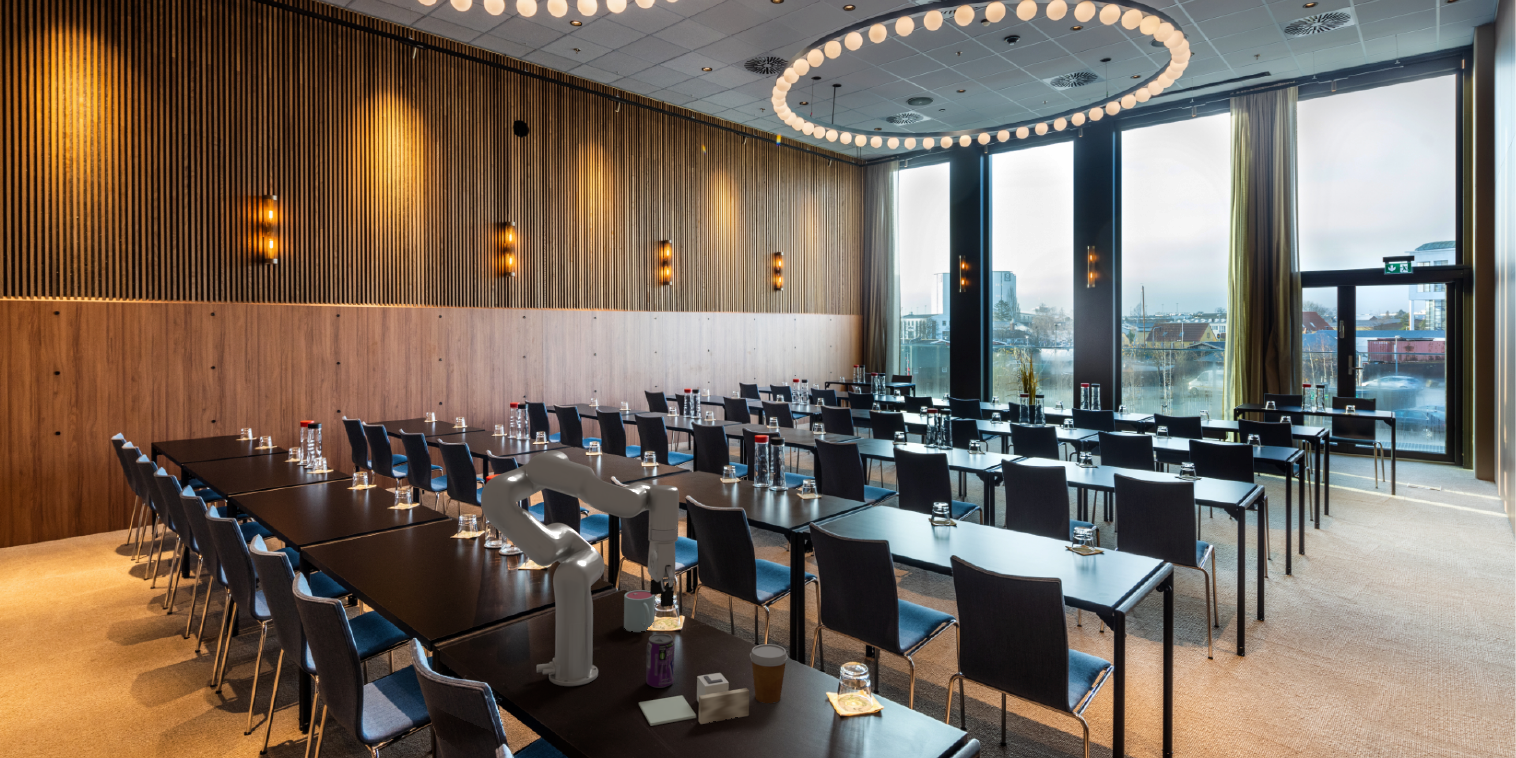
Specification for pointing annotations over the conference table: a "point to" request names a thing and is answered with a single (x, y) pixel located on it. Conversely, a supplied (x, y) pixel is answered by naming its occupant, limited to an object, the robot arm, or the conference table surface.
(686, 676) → the conference table surface
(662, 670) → the beverage can
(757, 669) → the disposable coffee cup
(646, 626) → the mug
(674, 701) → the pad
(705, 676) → the letter block
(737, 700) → the birch screen
